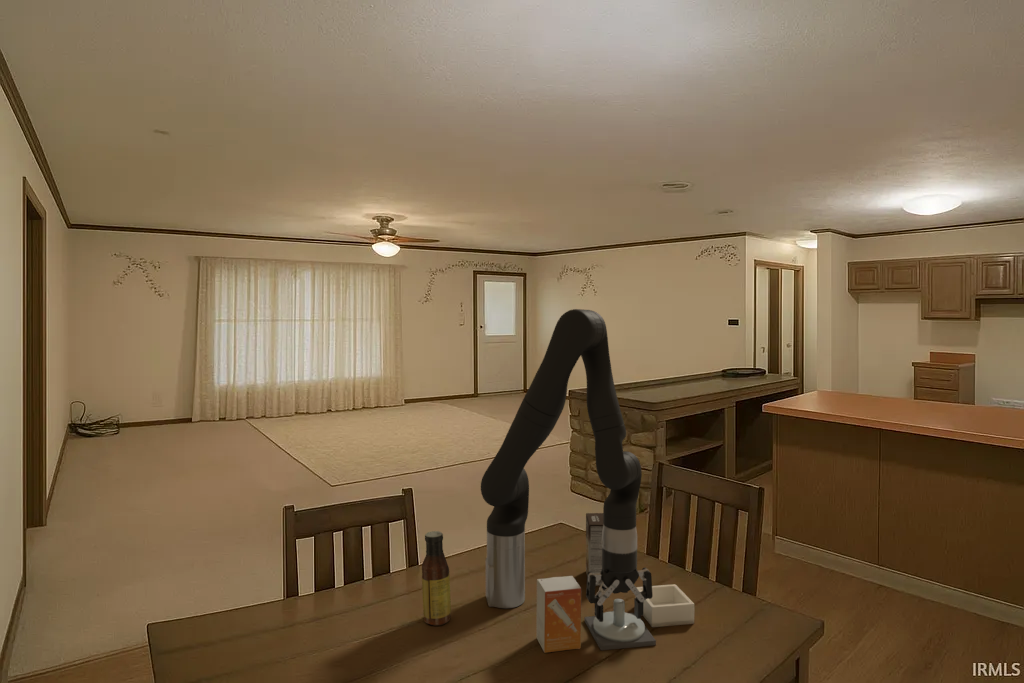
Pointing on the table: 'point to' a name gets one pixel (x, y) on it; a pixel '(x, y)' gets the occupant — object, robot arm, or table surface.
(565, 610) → the small box
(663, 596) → the open square container
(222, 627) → the table surface
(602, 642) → the mat
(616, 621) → the lid
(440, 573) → the sauce bottle
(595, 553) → the coffee box
